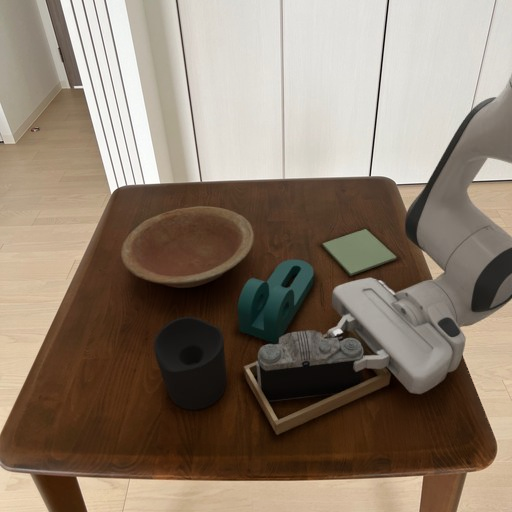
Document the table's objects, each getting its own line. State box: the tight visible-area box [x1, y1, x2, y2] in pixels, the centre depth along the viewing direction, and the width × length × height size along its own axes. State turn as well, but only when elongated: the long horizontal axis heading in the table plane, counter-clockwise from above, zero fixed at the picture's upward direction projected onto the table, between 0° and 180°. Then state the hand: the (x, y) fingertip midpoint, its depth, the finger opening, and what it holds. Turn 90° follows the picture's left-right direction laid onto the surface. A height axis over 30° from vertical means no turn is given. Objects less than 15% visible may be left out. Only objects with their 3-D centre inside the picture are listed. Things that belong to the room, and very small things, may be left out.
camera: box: [255, 329, 364, 402], centre depth 72 cm, size 15×7×10 cm, turn 95°
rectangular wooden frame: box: [243, 329, 392, 436], centre depth 74 cm, size 11×18×2 cm, turn 115°
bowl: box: [120, 205, 255, 289], centre depth 93 cm, size 24×24×8 cm
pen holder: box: [153, 316, 227, 411], centre depth 72 cm, size 9×9×10 cm
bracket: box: [237, 259, 314, 345], centre depth 85 cm, size 18×7×8 cm, turn 153°
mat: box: [322, 228, 397, 277], centre depth 97 cm, size 10×10×1 cm
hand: (340, 350), depth 71 cm, fingers closed on camera, 4 cm apart
